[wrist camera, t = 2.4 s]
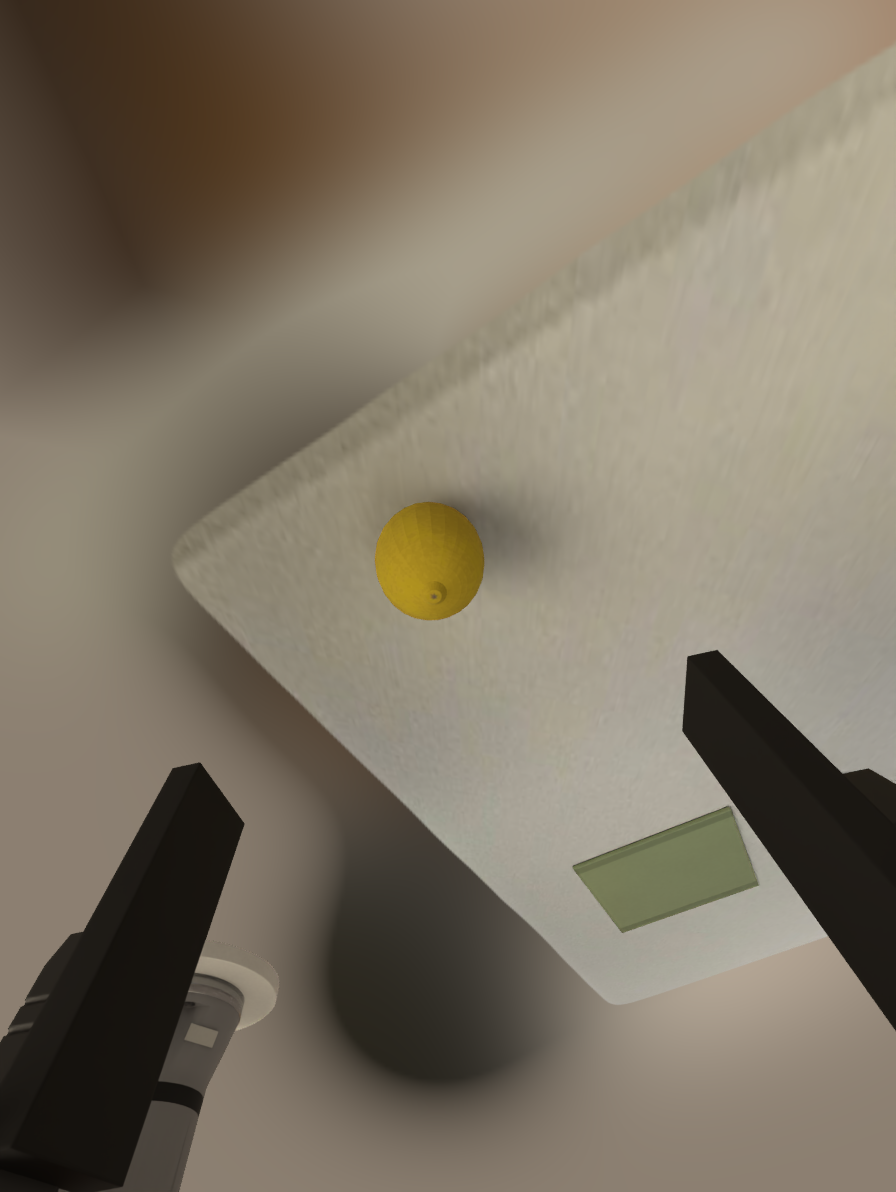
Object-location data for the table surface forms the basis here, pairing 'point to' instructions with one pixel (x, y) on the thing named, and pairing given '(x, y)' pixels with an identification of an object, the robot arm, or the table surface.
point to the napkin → (670, 871)
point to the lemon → (429, 561)
